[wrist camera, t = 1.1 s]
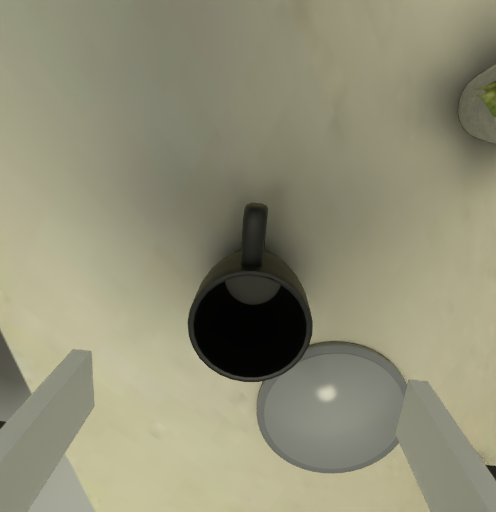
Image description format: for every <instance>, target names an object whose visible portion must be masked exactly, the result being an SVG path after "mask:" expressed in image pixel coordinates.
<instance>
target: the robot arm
mask: <svg viewBox="0 0 496 512" xmlns="http://www.w3.org/2000/svg"><path fill="white" fill-rule="evenodd" d="M93 408H94V391H93V372H92V354H91V351H86V350H75V349H73V350H72V351H71V352H70V353H69V354H68V355H67V356H66V358H65V359H64V360H63V361H62V362H61V363H60V364H59V365H58V366H57V367H56V369H55V370H54V371H53V372H52V373H51V374H50V375H49V376H48V377H47V378H46V379H45V381H44V382H43V383H42V384H41V385H40V386H39V387H38V388H37V389H36V390H35V392H34V393H33V394H32V395H31V396H30V397H29V398H28V399H27V400H26V402H25V403H24V404H23V405H22V406H21V407H20V408H19V409H18V410H17V411H16V412H15V414H14V415H13V416H12V417H11V418H10V419H9V420H8V421H7V422H3V421H0V512H27V511H28V510H29V508H30V507H31V505H32V504H33V502H34V500H35V499H36V497H37V496H38V494H39V492H40V491H41V489H42V488H43V486H44V485H45V483H46V482H47V480H48V478H49V477H50V475H51V474H52V472H53V471H54V469H55V467H56V466H57V464H58V463H59V461H60V460H61V458H62V456H63V455H64V453H65V452H66V450H67V449H68V447H69V445H70V444H71V442H72V441H73V439H74V437H75V436H76V434H77V433H78V431H79V430H80V428H81V426H82V425H83V423H84V422H85V420H86V419H87V417H88V415H89V414H90V412H91V411H92V409H93ZM396 436H397V438H398V441H399V443H400V445H401V447H402V449H403V452H404V454H405V456H406V458H407V460H408V463H409V465H410V467H411V469H412V471H413V474H414V476H415V478H416V480H417V482H418V485H419V487H420V489H421V491H422V493H423V496H424V498H425V500H426V502H427V504H428V507H429V509H430V511H431V512H496V466H490V465H485V464H484V463H483V461H482V460H481V458H480V457H479V455H478V454H477V452H476V451H475V450H474V448H473V447H472V445H471V444H470V442H469V441H468V439H467V438H466V436H465V435H464V434H463V432H462V431H461V429H460V428H459V426H458V425H457V423H456V422H455V421H454V419H453V418H452V416H451V415H450V413H449V412H448V410H447V409H446V407H445V406H444V405H443V403H442V402H441V400H440V399H439V397H438V396H437V394H436V393H435V391H434V390H433V389H432V387H431V386H430V384H429V383H428V381H419V380H408V384H407V388H406V393H405V397H404V401H403V405H402V409H401V413H400V417H399V421H398V425H397V429H396Z"/></svg>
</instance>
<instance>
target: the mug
mask: <svg viewBox="0 0 496 512" xmlns="http://www.w3.org/2000/svg"><path fill="white" fill-rule="evenodd" d="M267 214H268V208H267V206H266V205H264V204H260V203H250V204H247V205H246V207H245V210H244V218H243V228H242V241H241V251H238V252H235V253H233V254H231V255H229V256H227V257H226V258H224V259H223V260H222V261H220V262H219V263H218V264H217V265H216V266H214V267H213V268H212V269H211V271H210V272H209V273H208V275H207V276H206V277H205V278H204V280H203V281H202V283H201V285H200V287H199V290H198V292H197V294H196V296H195V299H194V301H193V303H192V306H191V308H190V311H189V318H188V331H189V337H190V340H191V343H192V346H193V348H194V350H195V351H196V353H197V355H198V356H199V358H200V359H201V360H202V361H203V362H204V363H205V364H206V365H207V366H208V367H209V368H211V369H212V370H214V371H215V372H217V373H218V374H220V375H222V376H225V377H227V378H230V379H233V380H238V381H243V382H260V381H265V380H270V379H273V378H275V377H278V376H280V375H282V374H284V373H286V372H287V371H288V370H290V369H291V368H293V367H294V366H295V365H296V364H297V363H298V362H299V361H300V360H301V358H302V357H303V355H304V354H305V352H306V350H307V348H308V346H309V343H310V340H311V336H312V317H311V312H310V308H309V305H308V301H307V298H306V294H305V291H304V289H303V287H302V285H301V283H300V281H299V279H298V278H297V276H296V275H295V273H294V272H293V271H292V270H291V269H290V268H289V266H288V265H287V264H286V263H285V262H283V261H282V260H281V259H279V258H278V257H277V256H275V255H273V254H271V253H269V252H267V251H264V244H265V233H266V224H267Z"/></svg>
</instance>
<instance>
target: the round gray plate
mask: <svg viewBox="0 0 496 512" xmlns="http://www.w3.org/2000/svg"><path fill="white" fill-rule="evenodd" d="M406 388H407V385H406V383H405V381H404V379H403V377H402V375H401V374H400V372H399V371H398V370H397V368H396V367H395V366H394V365H393V364H392V363H391V362H390V361H389V360H388V359H386V358H385V357H384V356H383V355H381V354H379V353H378V352H376V351H374V350H372V349H370V348H367V347H365V346H361V345H358V344H354V343H347V342H323V343H318V344H313V345H310V346H308V348H307V350H306V352H305V354H304V355H303V357H302V358H301V360H300V361H299V362H298V363H297V364H296V365H295V366H294V367H293V368H291V369H290V370H288V371H287V372H286V373H284V374H282V375H280V376H278V377H275V378H273V379H270V380H265V381H263V383H262V385H261V388H260V391H259V395H258V400H257V419H258V424H259V428H260V431H261V433H262V435H263V437H264V439H265V441H266V442H267V444H268V445H269V446H270V447H271V449H272V450H273V451H274V452H275V453H276V454H278V455H279V456H280V457H281V458H283V459H284V460H286V461H287V462H289V463H291V464H293V465H295V466H297V467H300V468H302V469H305V470H309V471H313V472H320V473H343V472H350V471H354V470H358V469H361V468H364V467H366V466H369V465H371V464H373V463H375V462H377V461H379V460H380V459H382V458H383V457H385V456H386V455H387V454H388V453H390V452H391V451H392V450H393V449H394V448H395V447H396V446H397V445H398V443H399V441H398V438H397V436H396V429H397V425H398V421H399V417H400V413H401V409H402V405H403V401H404V397H405V393H406Z"/></svg>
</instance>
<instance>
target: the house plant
mask: <svg viewBox="0 0 496 512" xmlns="http://www.w3.org/2000/svg"><path fill="white" fill-rule="evenodd" d="M458 114H459V120H460V122H461V124H462V126H463V128H464V129H465V130H466V131H467V132H468V134H470V135H472V136H474V137H475V138H478V139H481V140H484V141H487V142H491V143H494V144H496V64H495V65H493V66H492V67H490V68H489V69H487V70H486V71H484V72H483V73H481V74H479V75H478V76H476V77H475V78H474V79H473V80H472V81H470V82H469V83H468V84H467V86H466V87H465V89H464V90H463V92H462V94H461V97H460V100H459V106H458Z"/></svg>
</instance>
